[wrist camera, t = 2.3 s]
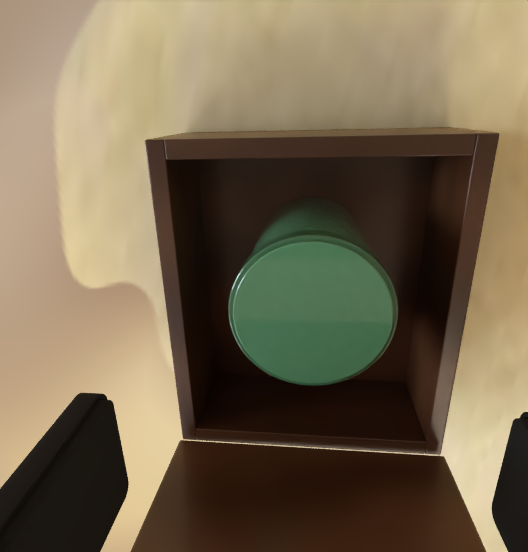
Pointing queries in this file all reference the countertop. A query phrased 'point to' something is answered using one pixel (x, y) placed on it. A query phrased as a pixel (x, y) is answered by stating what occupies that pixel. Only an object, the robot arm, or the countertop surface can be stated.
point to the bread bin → (384, 245)
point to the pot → (312, 296)
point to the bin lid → (305, 502)
